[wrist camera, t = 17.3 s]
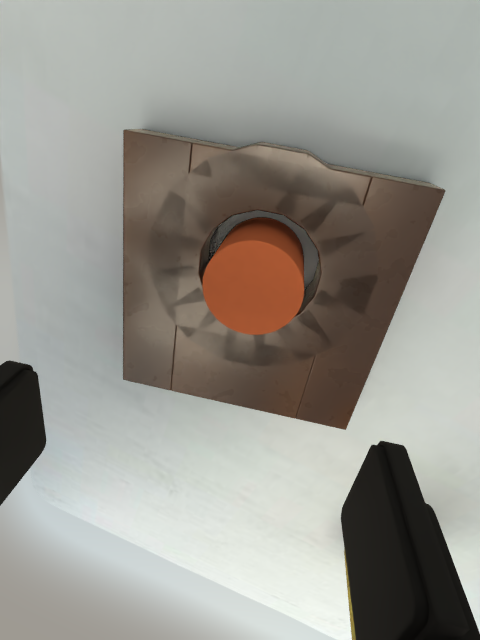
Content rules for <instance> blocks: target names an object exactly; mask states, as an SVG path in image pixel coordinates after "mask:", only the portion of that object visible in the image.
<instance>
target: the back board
mask: <svg viewBox="0 0 480 640" xmlns="http://www.w3.org/2000/svg"><path fill="white" fill-rule="evenodd" d="M444 193H445V190H444V189H442V188H440V187H437V186H435V185H433V184H431V183H427V182H422V181H417V180H411V179H406V178H401V177H395V176H390V175H385V174H379V173H374V172H369V171H363V170H358V169H353V168H347V167H342V166H337V165H331V164H326V163H325V162H324V161H322V160H321V159H319V158H318V157H317V156H315V155H314V154H312V153H311V152H310V151H307V150H302V149H297V148H292V147H286V146H281V145H276V144H270V143H265V142H259V143H255V144H251V145H247V146H244V147H235V146H230V145H224V144H219V143H214V142H208V141H202V140H198V139H192V138H187V137H182V136H176V135H171V134H166V133H160V132H155V131H150V130H144V129H128V130H124V193H123V380H127V381H131V382H136V383H140V384H145V385H149V386H154V387H158V388H163V389H167V390H172V391H176V392H180V393H184V394H189V395H193V396H198V397H202V398H207V399H211V400H216V401H220V402H224V403H229V404H233V405H238V406H242V407H247V408H251V409H255V410H260V411H264V412H269V413H273V414H278V415H282V416H286V417H291V418H296V419H300V420H304V421H309V422H313V423H318V424H322V425H327V426H331V427H336V428H340V429H344V430H346V428H347V425H348V423H349V421H350V418H351V416H352V413H353V411H354V409H355V406H356V404H357V402H358V399H359V397H360V394H361V392H362V390H363V387H364V385H365V382H366V380H367V378H368V375H369V373H370V370H371V368H372V366H373V363H374V361H375V358H376V356H377V354H378V351H379V349H380V346H381V344H382V342H383V339H384V337H385V334H386V332H387V330H388V327H389V325H390V322H391V320H392V318H393V315H394V313H395V311H396V308H397V306H398V303H399V301H400V299H401V296H402V294H403V291H404V289H405V287H406V284H407V282H408V279H409V277H410V275H411V272H412V270H413V267H414V265H415V263H416V260H417V258H418V255H419V253H420V251H421V248H422V246H423V243H424V241H425V239H426V236H427V234H428V231H429V229H430V227H431V224H432V222H433V220H434V217H435V215H436V212H437V210H438V208H439V205H440V203H441V200H442V198H443V196H444ZM255 210H261V211H266V212H271V213H276V214H281V215H284V216H286V217H287V218H289V219H290V220H291V221H293V222H294V223H296V224H297V225H299V226H300V227H302V228H303V229H304V230H305V231H306V233H307V234H308V236H309V237H310V239H311V241H312V242H313V244H314V245H315V247H316V248H317V250H318V257H319V262H318V265H317V269H316V272H315V276H314V280H313V281H312V282H311V284H310V285H309V286H308V287H307V289H306V290H305V291H304V297H303V302H302V304H301V307H300V309H299V311H298V313H297V314H296V316H295V317H294V318H293V319H292V320H291V321H290V322H289V323H288V324H287V325H285V326H284V327H282V328H281V329H278V330H276V331H274V332H271V333H267V334H260V335H250V334H244V333H240V332H237V331H234V330H232V329H230V328H228V327H226V326H225V325H224V324H222V323H221V322H220V321H219V320H218V319H217V318H216V317H215V316H214V315H213V314H212V312H211V311H210V310H209V308H208V306H207V304H206V301H205V299H204V295H203V287H202V284H203V276H204V272H205V269H206V267H207V265H208V263H209V260H208V257H209V249H210V241H211V237H212V235H213V233H214V232H215V230H216V228H217V227H218V226H219V225H220V224H221V223H223V222H224V221H226V220H227V219H228V218H230V217H231V216H233V215H236V214H241V213H246V212H250V211H255Z"/></svg>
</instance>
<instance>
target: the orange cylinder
mask: <svg viewBox="0 0 480 640" xmlns="http://www.w3.org/2000/svg"><path fill="white" fill-rule="evenodd" d="M202 287H203V295H204V299H205V301H206V304H207V306H208V308H209V310H210V311H211V312H212V314H213V315H214V316H215V317H216V318H217V319H218V320H219V321H220V322H221V323H222V324H224V325H225V326H226V327H228V328H230V329H232V330H234V331H237V332H240V333H244V334H250V335H260V334H267V333H271V332H274V331H276V330H278V329H281V328H282V327H284V326H285V325H287V324H288V323H289V322H290V321H291V320H292V319H293V318H294V317H295V316H296V314H297V313H298V311H299V309H300V307H301V304H302V302H303V297H304V256H303V249H302V246H301V243H300V241H299V239H298V237H297V236H296V234H295V233H294V232H293V231H292V230H291V229H290V228H289V227H288V226H286V225H285V224H283V223H281V222H279V221H277V220H274V219H271V218H264V217H262V218H252V219H248V220H246V221H243V222H241V223H240V224H238V225H237V226H235V227H234V228H233V229H232V230H231V231H230V232H229V233H228V235H227V236H226V238H225V239H224V241H223V242H222V244H221V245H220V247H219V248H218V250H217V251H216V253H215V254H214V256H213V257H212V259H211V260H210V261H209V263H208V265H207V267H206V269H205V272H204V276H203V284H202Z"/></svg>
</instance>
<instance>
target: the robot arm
mask: <svg viewBox="0 0 480 640" xmlns="http://www.w3.org/2000/svg"><path fill="white" fill-rule="evenodd" d="M45 445H46V434H45V426H44V419H43V411H42V404H41V396H40V389H39V381H38V375H37V373H36V372H34V371H33V368H32V366H31V365H28V364H23V363H18V362H14V361H6V362H5V363H3V364H2V365H0V505H1V504H2V503H3V501H4V500H5V499H6V498H7V496H8V495H9V494H10V493H11V491H12V490H13V489H14V487H15V486H16V485H17V484H18V482H19V481H20V480H21V479H22V477H23V476H24V474H25V473H26V472H27V471H28V470H29V468H30V467H31V466H32V465H33V463H34V462H35V461H36V459H37V458H38V457H39V456H40V454H41V453H42V451H43V450H44V448H45ZM341 522H342V530H343V539H344V547H345V555H346V563H347V572H348V580H349V588H350V596H351V604H352V613H353V621H354V629H355V637H356V640H480V633H479V631H478V628H477V625H476V622H475V620H474V617H473V614H472V612H471V609H470V606H469V603H468V601H467V598H466V595H465V593H464V590H463V587H462V585H461V582H460V579H459V576H458V574H457V571H456V568H455V566H454V563H453V560H452V557H451V555H450V552H449V549H448V547H447V544H446V541H445V539H444V536H443V533H442V530H441V528H440V525H439V522H438V520H437V517H436V514H435V512H434V510H433V509H432V507H431V506H430V505H429V504H426V503H425V501H424V499H423V496H422V493H421V490H420V487H419V484H418V481H417V479H416V476H415V473H414V470H413V467H412V464H411V462H410V459H409V456H408V453H407V450H406V448H405V447H404V446H403V445H399V444H394V443H389V442H385V441H380V442H379V443H378V445H372V446H371V447H370V449H369V451H368V454H367V456H366V458H365V460H364V462H363V464H362V466H361V469H360V471H359V473H358V475H357V477H356V479H355V481H354V483H353V486H352V488H351V490H350V492H349V494H348V496H347V498H346V501H345V503H344V505H343V507H342V513H341Z"/></svg>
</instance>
